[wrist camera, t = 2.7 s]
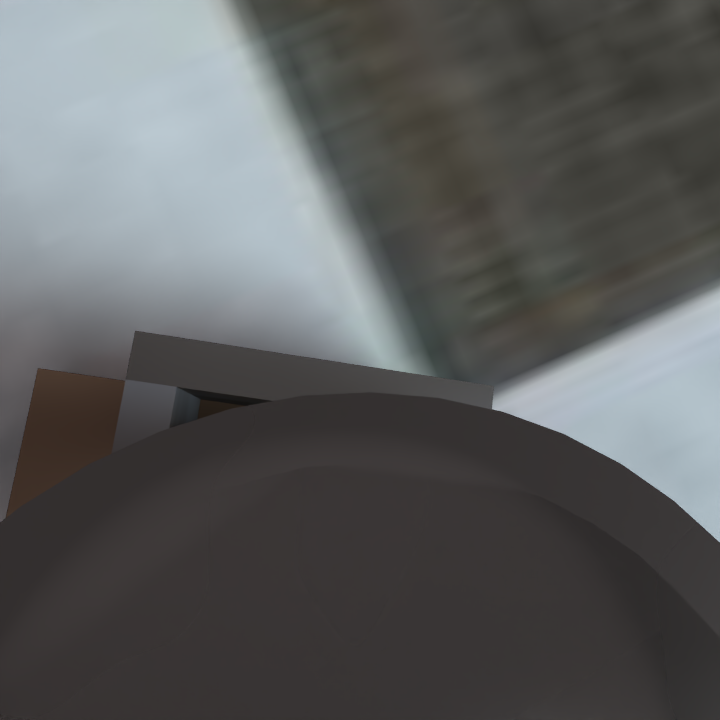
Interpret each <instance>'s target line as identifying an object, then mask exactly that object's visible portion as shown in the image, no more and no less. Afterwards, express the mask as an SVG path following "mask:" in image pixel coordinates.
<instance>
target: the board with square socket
mask: <svg viewBox="0 0 720 720" xmlns="http://www.w3.org/2000/svg"><path fill="white" fill-rule="evenodd" d="M493 391H494V386H490V385H484V384H477V383H471V382H464V381H458V380H451V379H445V378H438V377H432V376H425V375H419V374H412V373H406V372H399V371H393V370H386V369H380V368H373V367H367V366H360V365H354V364H347V363H341V362H334V361H328V360H321V359H315V358H308V357H302V356H295V355H289V354H282V353H276V352H269V351H263V350H256V349H250V348H243V347H237V346H230V345H224V344H217V343H211V342H204V341H198V340H191V339H185V338H178V337H172V336H165V335H159V334H152V333H146V332H139V331H135V334H134V339H133V345H132V350H131V355H130V360H129V365H128V370H127V376H126V381H123V380H116V379H109V378H102V377H95V376H88V375H81V374H74V373H67V372H60V371H54V370H47V369H40V368H38V371H37V375H36V380H35V385H34V389H33V394H32V398H31V403H30V408H29V412H28V417H27V422H26V426H25V431H24V436H23V440H22V445H21V449H20V454H19V459H18V463H17V468H16V473H15V477H14V482H13V487H12V491H11V496H10V500H9V505H8V510H7V514H6V518H7V517H8V516H9V515H10V514H12V513H13V512H14V511H15V510H17V509H18V508H19V507H21V506H22V505H24V504H26V503H27V502H29V501H30V500H32V499H34V498H35V497H37V496H38V495H40V494H42V493H43V492H45V491H46V490H48V489H50V488H51V487H53V486H55V485H56V484H58V483H59V482H61V481H63V480H64V479H66V478H67V477H69V476H71V475H72V474H74V473H76V472H77V471H79V470H80V469H82V468H84V467H85V466H87V465H88V464H90V463H93V462H95V461H97V460H99V459H101V458H103V457H106V456H108V455H110V454H112V453H114V452H116V451H118V450H121V449H123V448H125V447H127V446H129V445H131V444H134V443H136V442H138V441H140V440H142V439H144V438H147V437H149V436H151V435H153V434H155V433H157V432H160V431H163V430H166V429H169V428H172V427H175V426H178V425H181V424H185V423H188V422H191V421H194V420H197V419H200V418H203V417H207V416H210V415H213V414H216V413H219V412H222V411H225V410H229V409H232V408H238V407H243V406H249V405H254V404H259V403H265V402H270V401H276V400H281V399H287V398H292V397H298V396H307V395H327V394H347V393H367V392H374V393H386V394H398V395H410V396H422V397H435V398H441V399H446V400H451V401H455V402H460V403H464V404H469V405H473V406H478V407H483V408H487V409H492V401H493Z"/></svg>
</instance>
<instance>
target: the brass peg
mask: <svg viewBox="0 0 720 720" xmlns="http://www.w3.org/2000/svg"><path fill="white" fill-rule="evenodd" d="M0 720H720V543H719V542H718V541H717V540H716V539H715V538H714V537H713V536H712V535H711V534H710V533H708V532H707V531H706V530H705V529H704V528H703V527H702V526H701V525H700V524H699V523H697V522H696V521H695V520H694V519H693V518H692V517H691V516H690V515H689V514H688V513H686V512H685V511H684V510H683V509H682V508H681V507H680V506H679V505H678V504H677V503H675V502H674V501H673V500H672V499H670V498H669V497H667V496H666V495H665V494H663V493H662V492H660V491H659V490H657V489H656V488H655V487H653V486H652V485H650V484H649V483H647V482H646V481H645V480H643V479H642V478H640V477H639V476H637V475H636V474H635V473H633V472H632V471H630V470H629V469H627V468H626V467H625V466H623V465H622V464H620V463H618V462H616V461H614V460H612V459H610V458H609V457H607V456H605V455H603V454H601V453H599V452H597V451H595V450H593V449H591V448H589V447H587V446H586V445H584V444H582V443H580V442H578V441H576V440H574V439H572V438H570V437H568V436H566V435H564V434H562V433H559V432H557V431H554V430H551V429H548V428H546V427H543V426H540V425H537V424H535V423H532V422H529V421H526V420H524V419H521V418H518V417H515V416H513V415H510V414H507V413H504V412H501V411H496V410H492V409H487V408H483V407H478V406H473V405H469V404H464V403H460V402H455V401H451V400H446V399H441V398H435V397H422V396H410V395H398V394H386V393H374V392H367V393H347V394H327V395H307V396H298V397H292V398H287V399H281V400H276V401H270V402H265V403H259V404H254V405H249V406H243V407H238V408H232V409H229V410H225V411H222V412H219V413H216V414H213V415H210V416H207V417H203V418H200V419H197V420H194V421H191V422H188V423H185V424H181V425H178V426H175V427H172V428H169V429H166V430H163V431H160V432H157V433H155V434H153V435H151V436H149V437H147V438H144V439H142V440H140V441H138V442H136V443H134V444H131V445H129V446H127V447H125V448H123V449H121V450H118V451H116V452H114V453H112V454H110V455H108V456H106V457H103V458H101V459H99V460H97V461H95V462H93V463H90V464H88V465H87V466H85V467H84V468H82V469H80V470H79V471H77V472H76V473H74V474H72V475H71V476H69V477H67V478H66V479H64V480H63V481H61V482H59V483H58V484H56V485H55V486H53V487H51V488H50V489H48V490H46V491H45V492H43V493H42V494H40V495H38V496H37V497H35V498H34V499H32V500H30V501H29V502H27V503H26V504H24V505H22V506H21V507H19V508H18V509H17V510H15V511H14V512H13V513H12V514H10V515H9V516H8V517H7V518H5V519H4V520H3V521H2V522H0Z"/></svg>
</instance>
